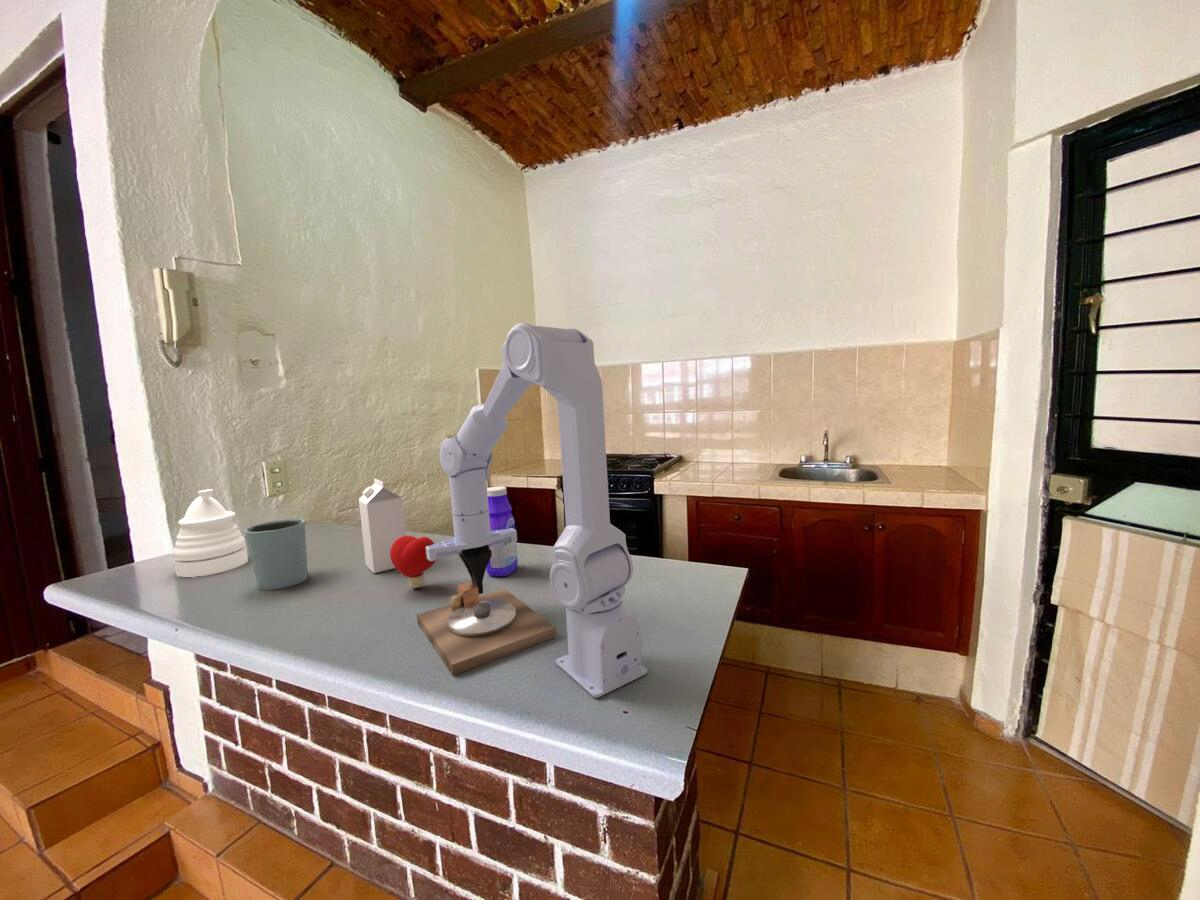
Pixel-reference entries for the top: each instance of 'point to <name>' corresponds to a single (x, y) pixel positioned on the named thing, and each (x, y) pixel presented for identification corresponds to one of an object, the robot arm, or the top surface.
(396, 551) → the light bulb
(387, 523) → the milk carton
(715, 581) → the top surface
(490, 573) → the bottle
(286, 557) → the teal cylindrical pot
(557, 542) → the robot arm
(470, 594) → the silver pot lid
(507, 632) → the mounting board
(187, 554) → the honey pot
